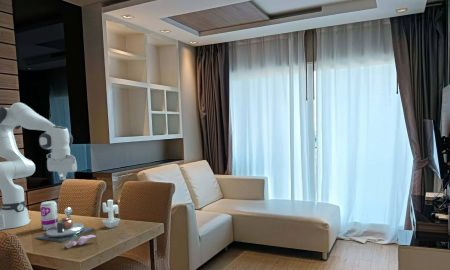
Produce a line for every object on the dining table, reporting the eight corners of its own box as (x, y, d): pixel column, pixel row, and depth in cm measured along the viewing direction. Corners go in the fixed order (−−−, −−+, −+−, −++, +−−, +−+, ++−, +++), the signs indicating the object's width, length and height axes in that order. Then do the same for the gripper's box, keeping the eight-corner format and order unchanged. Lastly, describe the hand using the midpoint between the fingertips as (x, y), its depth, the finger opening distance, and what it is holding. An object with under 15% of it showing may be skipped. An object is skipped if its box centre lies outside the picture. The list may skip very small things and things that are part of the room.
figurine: (122, 224, 188) (121, 198, 188) (108, 229, 181) (107, 202, 180) (114, 223, 192) (112, 197, 192) (100, 227, 185) (98, 201, 184)
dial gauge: (62, 227, 185) (61, 208, 185) (70, 224, 190) (69, 206, 190) (68, 228, 183) (67, 209, 183) (76, 225, 188) (75, 206, 188)
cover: (56, 230, 172) (55, 220, 172) (60, 226, 179) (59, 217, 179) (70, 229, 173) (70, 219, 173) (74, 225, 180) (73, 216, 180)
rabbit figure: (64, 253, 152) (97, 241, 159) (60, 241, 151) (94, 229, 158) (63, 249, 157) (95, 237, 164) (60, 237, 156) (92, 226, 164)
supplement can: (51, 230, 184) (49, 203, 184) (38, 230, 186) (36, 204, 186) (61, 226, 192) (59, 200, 192) (48, 226, 194) (47, 200, 193)
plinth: (35, 238, 172) (35, 236, 172) (68, 226, 190) (68, 225, 190) (62, 242, 163) (62, 240, 163) (94, 229, 181) (94, 228, 181)
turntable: (41, 238, 166) (40, 225, 166) (53, 228, 184) (52, 215, 184) (78, 235, 169) (78, 221, 169) (87, 225, 187) (86, 212, 187)
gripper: (79, 154, 182) (80, 179, 182) (54, 154, 191) (55, 177, 191) (69, 155, 176) (70, 181, 177) (44, 155, 185) (45, 179, 186)
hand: (62, 179), depth 184 cm, fingers closed
